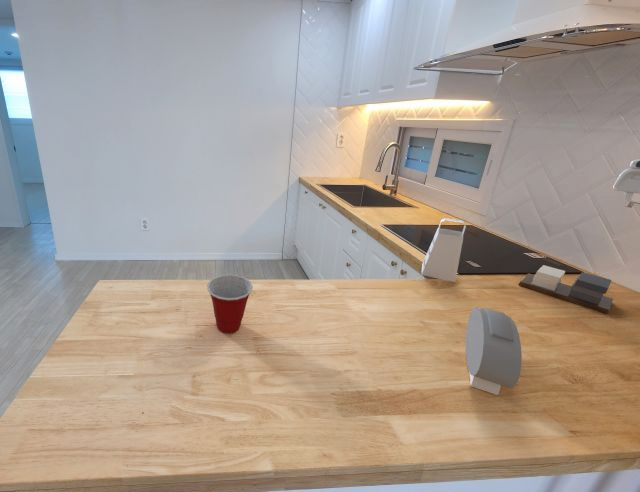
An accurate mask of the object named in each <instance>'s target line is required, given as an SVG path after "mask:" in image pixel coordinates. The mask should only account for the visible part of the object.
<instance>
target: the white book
mask: <svg viewBox="0 0 640 492" xmlns="http://www.w3.org/2000/svg"><path fill="white" fill-rule="evenodd" d="M565 274H566V270H563V269H560V268H556V267H552V266H550V265H549V266H548V265H546V264H545V265H544V264H542V265H541V267H540V268H539V269H538V270H536V272H535V274H534V275H535V276H539V277H542V278H545V279H549V280H552V281H555V282H559V281H560V280H561V281H562V278H563V277H564V275H565Z"/></svg>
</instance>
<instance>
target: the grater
mask: <svg viewBox="0 0 640 492" xmlns="http://www.w3.org/2000/svg"><path fill="white" fill-rule="evenodd" d="M445 221H447V222H452V223H453V222H454V223H459V224H463V228H462V230H461V231H460V230H453V229H448V228H442V227H441V224H442V223H443V222H445ZM466 228H467V225H466V224H465V222H464V220H460V219H454V218H447V217H443V218H442V219H440V222H439V224H438V227H437V229H436V231H435V233H434V236H433V239H432V241H431V243H430V245H429V248H428V250H427V252H426V254H425V256H424V258H423V261H422V264H421V276H424V277H429V278H434V279H438V280H443V281H447V282H451V283H456V282H457V281H456V280H457V275H458V269H459V264H460V258H461V253H462V247H463V243H464V234H465V231H466Z"/></svg>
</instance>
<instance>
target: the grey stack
mask: <svg viewBox="0 0 640 492" xmlns="http://www.w3.org/2000/svg"><path fill="white" fill-rule="evenodd" d="M611 284H612V279H610V278H605V277H602V276H599V275H595V274H592V273H587V272H583V271H581V273H580V274H579V276H576V279H575V280H574V282H573V283H572V285H571V286H572V287H571V289H570V290H571V291H570V293H569V295H568V296H571V297H574V298H577V299H581V300H584V301H587V302H590V303H593V304H596V305H599V303H600V301H601V299H602V297H603V296H604V295H606V293H607V292H608V290H609V288H610V285H611Z"/></svg>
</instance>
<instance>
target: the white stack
mask: <svg viewBox="0 0 640 492" xmlns="http://www.w3.org/2000/svg"><path fill="white" fill-rule="evenodd" d="M560 283H562V279H561V280H560V281H559V282H555V281H552V280H549V279H545V278H542V277H539V276H534V278H533V282H532V284H534V285H537V286H540V287H543V288H546V289H549V290H553V291H555V289H556V288H557V287H558V285H559V284H560Z"/></svg>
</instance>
